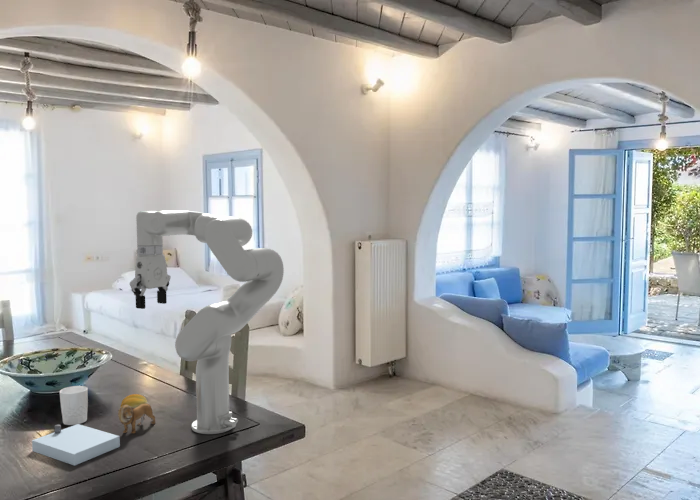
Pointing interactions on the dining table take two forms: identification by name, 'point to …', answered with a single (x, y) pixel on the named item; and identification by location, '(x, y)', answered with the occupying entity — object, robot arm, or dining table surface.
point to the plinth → (75, 444)
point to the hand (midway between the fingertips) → (151, 305)
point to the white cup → (74, 404)
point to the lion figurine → (134, 415)
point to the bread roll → (134, 400)
